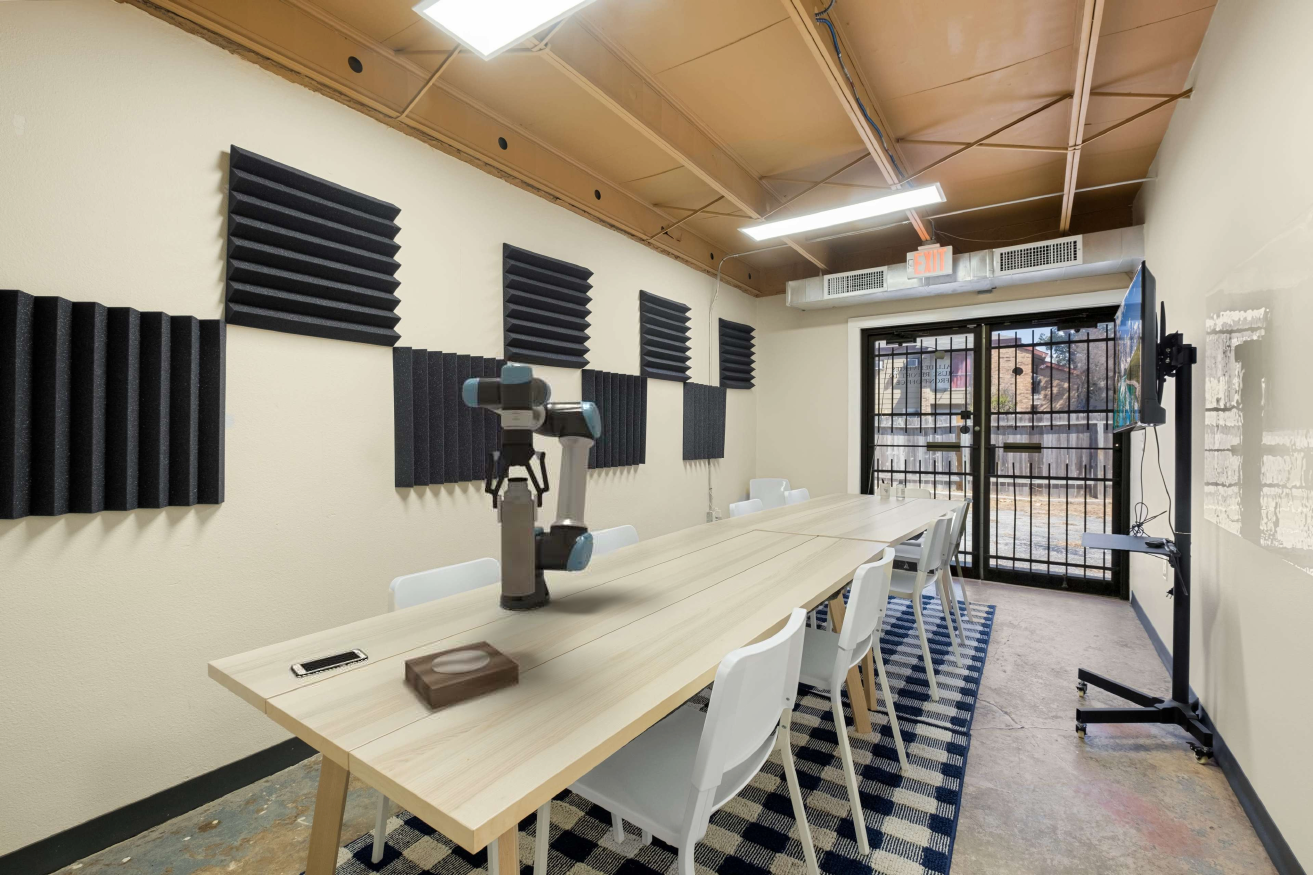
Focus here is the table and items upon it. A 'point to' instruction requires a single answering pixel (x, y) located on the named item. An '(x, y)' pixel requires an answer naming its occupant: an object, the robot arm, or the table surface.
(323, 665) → the cell phone
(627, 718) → the table surface
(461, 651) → the walnut riser
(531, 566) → the thermos bottle
